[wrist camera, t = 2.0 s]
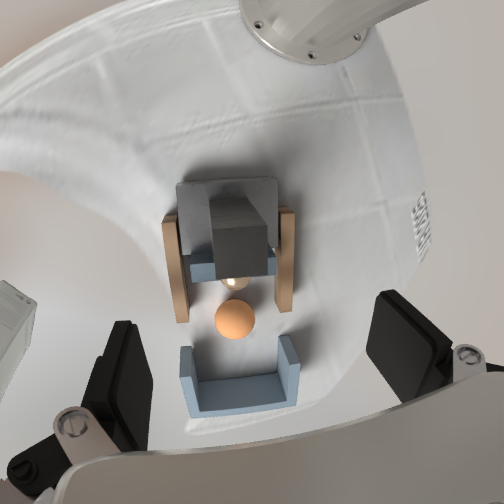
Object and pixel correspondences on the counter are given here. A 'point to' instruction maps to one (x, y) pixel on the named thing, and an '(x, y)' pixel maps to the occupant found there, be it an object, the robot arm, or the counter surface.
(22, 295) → the skincare box
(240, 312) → the ball
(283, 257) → the rail
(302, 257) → the counter surface
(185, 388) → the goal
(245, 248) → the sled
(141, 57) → the counter surface
